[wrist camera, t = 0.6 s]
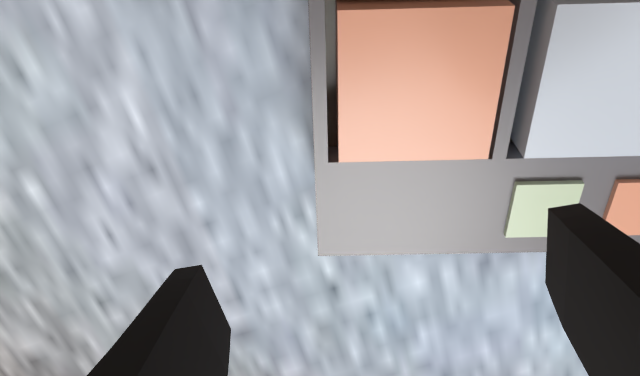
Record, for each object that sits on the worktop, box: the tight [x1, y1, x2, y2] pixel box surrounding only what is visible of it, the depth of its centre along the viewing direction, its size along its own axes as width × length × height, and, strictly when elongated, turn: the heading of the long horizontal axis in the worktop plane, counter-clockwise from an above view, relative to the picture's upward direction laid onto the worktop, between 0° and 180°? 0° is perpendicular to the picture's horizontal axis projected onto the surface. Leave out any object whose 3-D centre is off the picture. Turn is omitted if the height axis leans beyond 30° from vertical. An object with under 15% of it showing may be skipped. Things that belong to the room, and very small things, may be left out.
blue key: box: [510, 0, 640, 158], centre depth 14 cm, size 4×4×2 cm
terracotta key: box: [335, 0, 515, 162], centre depth 14 cm, size 4×4×2 cm
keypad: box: [308, 0, 640, 256], centre depth 16 cm, size 16×12×5 cm
